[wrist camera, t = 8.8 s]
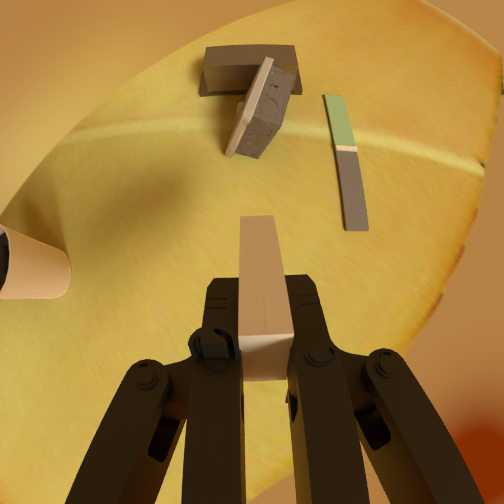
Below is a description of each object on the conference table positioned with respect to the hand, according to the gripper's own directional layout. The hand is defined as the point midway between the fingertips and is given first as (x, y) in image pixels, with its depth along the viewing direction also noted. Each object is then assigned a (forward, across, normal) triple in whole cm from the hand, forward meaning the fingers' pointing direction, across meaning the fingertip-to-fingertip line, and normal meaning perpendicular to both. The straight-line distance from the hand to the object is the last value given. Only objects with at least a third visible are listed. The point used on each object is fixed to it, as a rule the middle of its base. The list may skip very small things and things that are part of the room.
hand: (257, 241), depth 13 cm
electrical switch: (+19, +1, +2) cm, 19 cm away
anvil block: (+25, 0, +7) cm, 26 cm away
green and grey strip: (+17, +10, 0) cm, 20 cm away
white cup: (+9, -23, -9) cm, 26 cm away
